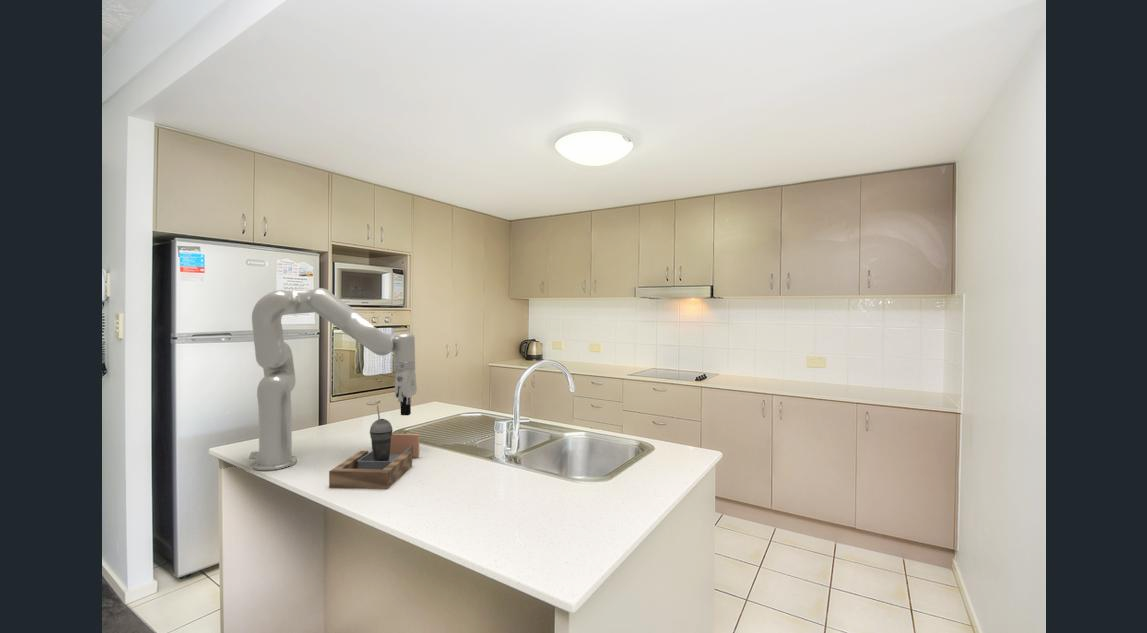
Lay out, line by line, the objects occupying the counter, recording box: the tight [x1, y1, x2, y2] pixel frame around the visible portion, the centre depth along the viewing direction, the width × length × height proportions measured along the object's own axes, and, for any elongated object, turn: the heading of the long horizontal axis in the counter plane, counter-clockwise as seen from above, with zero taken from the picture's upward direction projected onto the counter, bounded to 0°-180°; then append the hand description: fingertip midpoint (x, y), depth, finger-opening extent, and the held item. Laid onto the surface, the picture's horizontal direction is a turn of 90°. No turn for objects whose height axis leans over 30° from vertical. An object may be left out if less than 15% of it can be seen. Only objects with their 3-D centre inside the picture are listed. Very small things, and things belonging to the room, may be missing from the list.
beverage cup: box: [369, 405, 394, 461], centre depth 159 cm, size 7×7×20 cm
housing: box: [328, 450, 413, 490], centre depth 153 cm, size 20×18×5 cm
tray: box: [356, 433, 420, 470], centre depth 163 cm, size 19×16×8 cm
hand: (405, 414), depth 178 cm, fingers closed
